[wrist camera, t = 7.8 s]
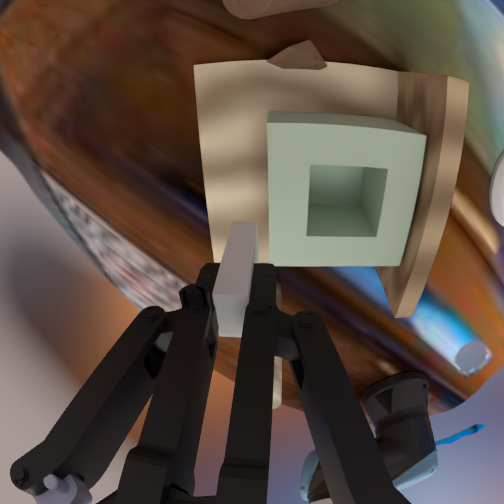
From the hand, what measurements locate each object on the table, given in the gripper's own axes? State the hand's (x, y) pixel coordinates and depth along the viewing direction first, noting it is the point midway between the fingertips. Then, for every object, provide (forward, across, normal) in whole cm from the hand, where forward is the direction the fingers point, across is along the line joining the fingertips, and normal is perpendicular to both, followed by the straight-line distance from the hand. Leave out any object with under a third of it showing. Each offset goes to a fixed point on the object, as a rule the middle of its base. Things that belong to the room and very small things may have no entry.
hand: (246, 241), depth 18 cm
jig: (+13, -5, -1) cm, 14 cm away
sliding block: (+12, -7, -1) cm, 14 cm away
